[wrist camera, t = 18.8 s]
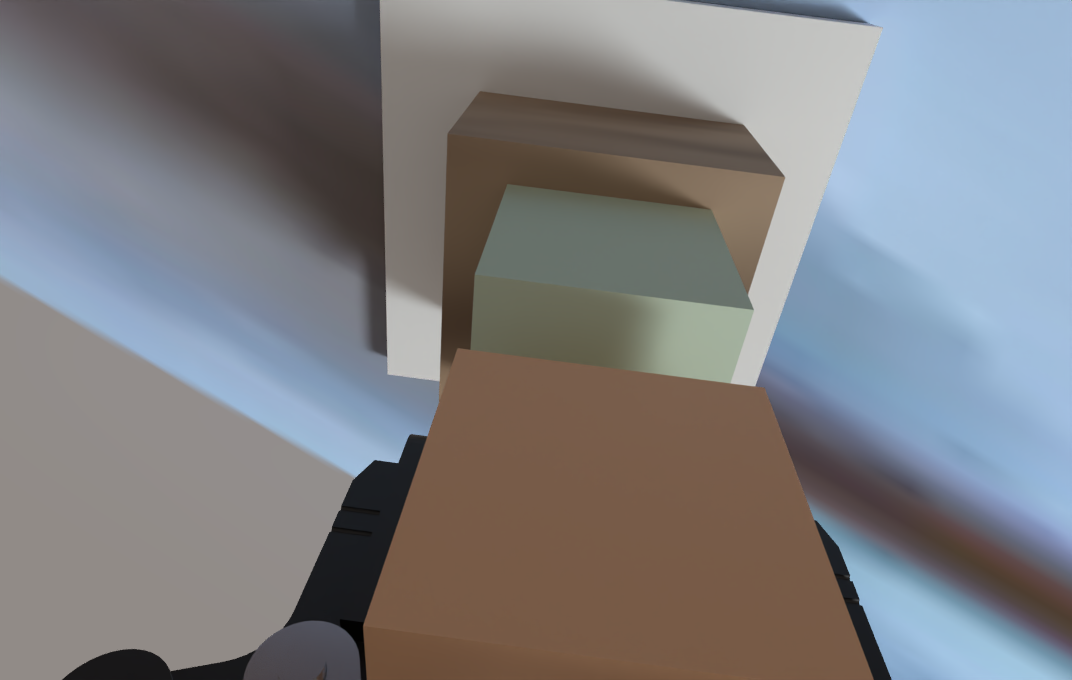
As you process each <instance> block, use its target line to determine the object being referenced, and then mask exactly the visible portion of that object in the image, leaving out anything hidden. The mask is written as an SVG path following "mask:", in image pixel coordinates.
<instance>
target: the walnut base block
mask: <svg viewBox="0 0 1072 680" xmlns="http://www.w3.org/2000/svg"><path fill="white" fill-rule="evenodd" d="M784 180H785V176H784V175H783V173H782V172H781V171H780V170H779V168H778V167H777V166H776V165H775V163H774V162H773V161H772V160H771V158H770V157H769V156H768V155H767V153H766V152H765V151H764V150H763V148H762V147H761V146H760V144H759V143H758V142H757V141H756V139H755V138H754V137H753V136H752V134H751V133H750V132H749V131H748V129H747V128H746V127H745V126H744V125H740V124H732V123H725V122H717V121H709V120H701V119H693V118H686V117H678V116H670V115H662V114H654V113H646V112H639V111H631V110H623V109H615V108H607V107H600V106H592V105H584V104H576V103H568V102H561V101H553V100H545V99H537V98H529V97H522V96H514V95H506V94H498V93H490V92H483V91H480V92H479V93H478V94H477V96H476V97H475V98H474V100H473V101H472V102H471V103H470V105H469V106H468V107H467V109H466V110H465V111H464V113H463V114H462V115H461V117H460V118H459V119H458V120H457V122H456V123H455V124H454V126H453V127H452V128H451V130H450V131H449V132H448V134H447V164H446V196H445V228H444V259H443V291H442V323H441V354H440V386H439V401H440V398H441V395H442V393H443V390H444V387H445V384H446V381H447V378H448V375H449V372H450V369H451V366H452V363H453V360H454V357H455V354H456V351H457V348H460V349H468V350H470V349H471V332H472V314H473V296H474V278H475V272H476V270H477V267H478V264H479V261H480V258H481V256H482V253H483V250H484V247H485V245H486V242H487V239H488V236H489V234H490V231H491V228H492V225H493V223H494V220H495V217H496V214H497V212H498V209H499V206H500V203H501V200H502V198H503V195H504V192H505V189H506V187H507V184H511V185H519V186H527V187H535V188H543V189H551V190H559V191H567V192H575V193H583V194H590V195H598V196H606V197H614V198H622V199H630V200H638V201H646V202H654V203H662V204H670V205H678V206H686V207H694V208H702V209H710V210H712V212H713V214H714V217H715V219H716V221H717V224H718V226H719V228H720V231H721V233H722V236H723V238H724V240H725V243H726V245H727V247H728V250H729V252H730V254H731V257H732V259H733V261H734V264H735V266H736V268H737V271H738V273H739V275H740V278H741V280H742V283H743V285H744V287H745V290H746V292H747V294H748V293H749V290H750V287H751V283H752V280H753V277H754V274H755V271H756V268H757V265H758V262H759V258H760V255H761V252H762V249H763V246H764V243H765V240H766V237H767V233H768V230H769V227H770V224H771V221H772V218H773V215H774V212H775V208H776V205H777V202H778V199H779V196H780V193H781V190H782V186H783V183H784Z"/></svg>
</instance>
